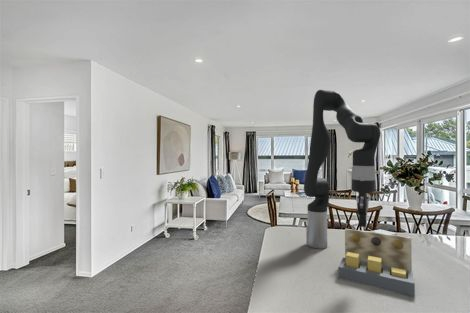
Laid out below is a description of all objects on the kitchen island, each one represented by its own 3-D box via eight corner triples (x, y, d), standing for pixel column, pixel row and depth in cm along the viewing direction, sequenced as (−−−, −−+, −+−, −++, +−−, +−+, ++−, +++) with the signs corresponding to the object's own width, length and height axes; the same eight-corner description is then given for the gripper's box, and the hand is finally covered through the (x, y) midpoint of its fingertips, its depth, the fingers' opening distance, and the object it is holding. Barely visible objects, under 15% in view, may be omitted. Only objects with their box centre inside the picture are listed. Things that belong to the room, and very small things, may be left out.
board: (338, 278, 87) (338, 266, 87) (343, 267, 96) (343, 257, 96) (414, 296, 75) (414, 283, 75) (412, 282, 84) (412, 271, 84)
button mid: (367, 274, 85) (367, 259, 85) (368, 269, 88) (368, 255, 88) (381, 277, 83) (380, 262, 83) (381, 272, 86) (381, 258, 86)
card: (345, 263, 99) (344, 229, 100) (346, 260, 103) (346, 226, 103) (411, 277, 87) (411, 238, 88) (411, 273, 91) (410, 235, 91)
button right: (391, 286, 81) (391, 271, 81) (391, 281, 84) (391, 267, 85) (406, 290, 79) (406, 274, 79) (405, 284, 82) (405, 269, 82)
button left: (345, 269, 89) (345, 255, 89) (347, 265, 92) (347, 251, 92) (358, 271, 87) (357, 257, 87) (359, 267, 90) (359, 254, 90)
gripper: (353, 176, 96) (353, 220, 96) (349, 179, 85) (348, 229, 85) (375, 177, 92) (375, 223, 92) (374, 180, 81) (373, 233, 81)
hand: (362, 226), depth 88 cm, fingers closed
